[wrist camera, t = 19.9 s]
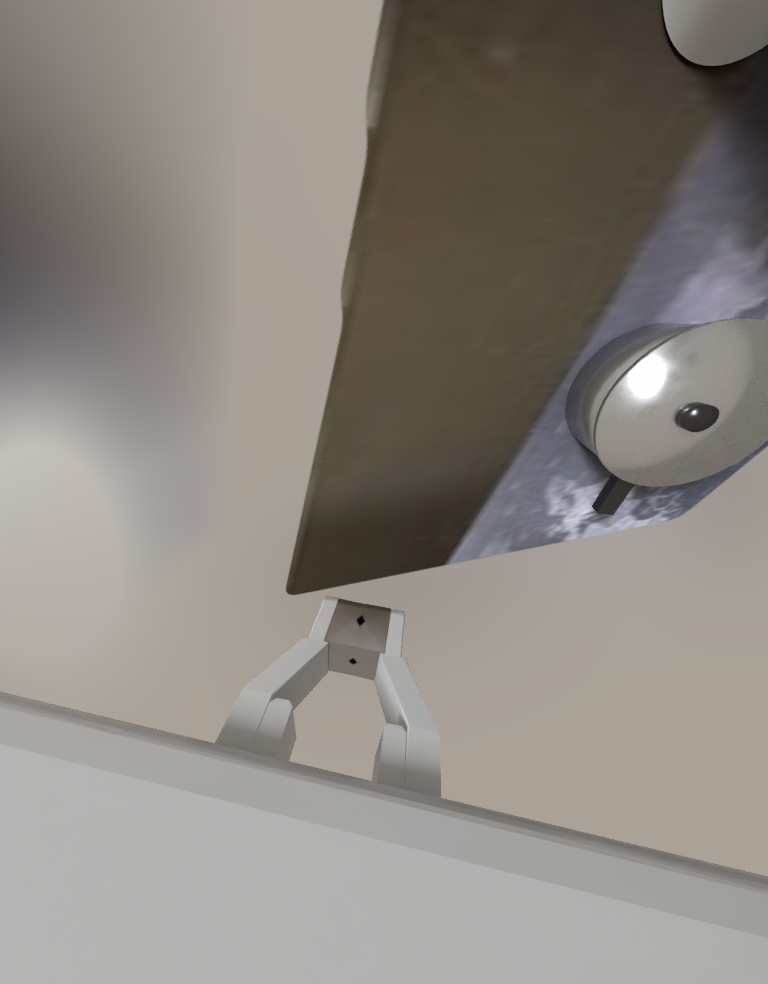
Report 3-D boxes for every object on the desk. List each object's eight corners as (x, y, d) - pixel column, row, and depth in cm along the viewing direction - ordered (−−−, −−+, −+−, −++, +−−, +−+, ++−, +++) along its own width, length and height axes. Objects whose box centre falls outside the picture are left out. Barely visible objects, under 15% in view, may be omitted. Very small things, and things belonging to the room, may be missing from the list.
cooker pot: (529, 478, 50) (549, 509, 42) (603, 315, 37) (654, 312, 29) (632, 495, 49) (674, 531, 41) (746, 334, 36) (844, 337, 28)
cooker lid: (565, 470, 38) (573, 478, 36) (652, 306, 28) (669, 305, 26) (710, 494, 37) (726, 504, 35) (854, 332, 27) (887, 333, 25)
